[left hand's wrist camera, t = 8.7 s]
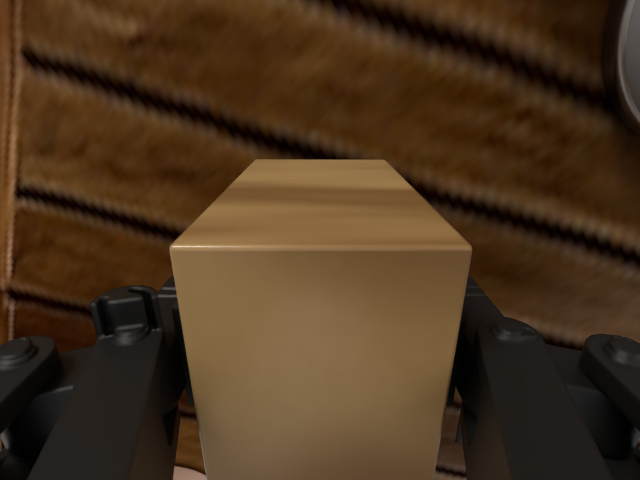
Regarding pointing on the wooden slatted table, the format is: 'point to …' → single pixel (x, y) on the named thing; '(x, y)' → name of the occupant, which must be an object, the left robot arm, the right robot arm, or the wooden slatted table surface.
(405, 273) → the bar
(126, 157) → the wooden slatted table surface
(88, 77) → the wooden slatted table surface
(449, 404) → the left robot arm
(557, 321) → the wooden slatted table surface
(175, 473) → the anatomical model
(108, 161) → the wooden slatted table surface
